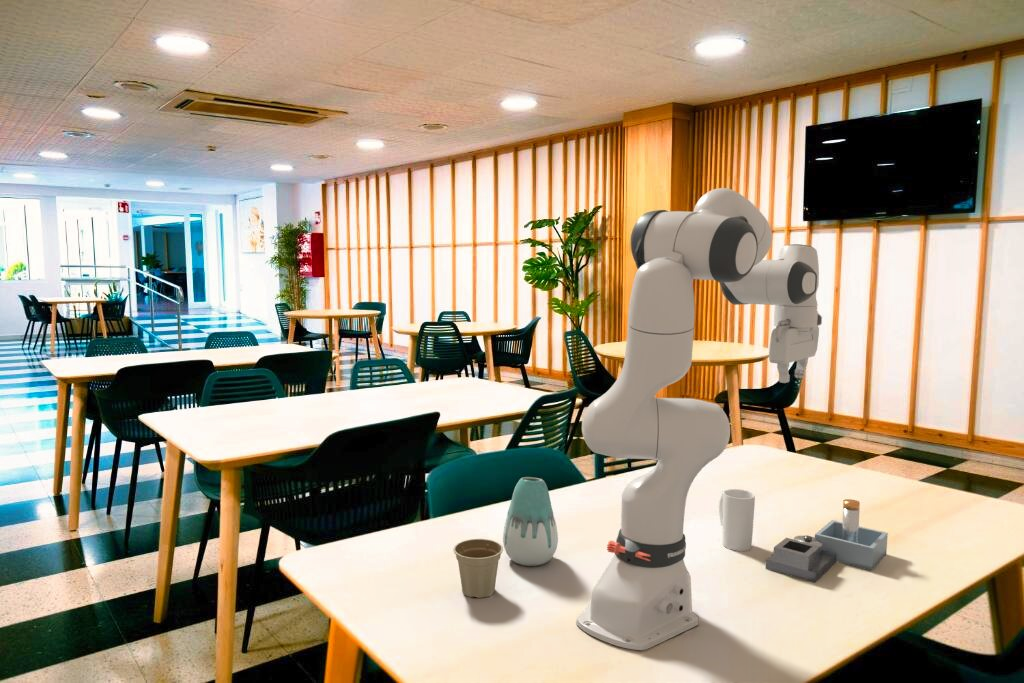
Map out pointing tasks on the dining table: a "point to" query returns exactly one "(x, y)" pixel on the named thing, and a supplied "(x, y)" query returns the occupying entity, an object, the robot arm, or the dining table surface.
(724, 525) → the mug
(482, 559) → the flower pot
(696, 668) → the dining table surface
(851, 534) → the lock pin
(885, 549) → the parts bin
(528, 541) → the vase
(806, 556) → the block
